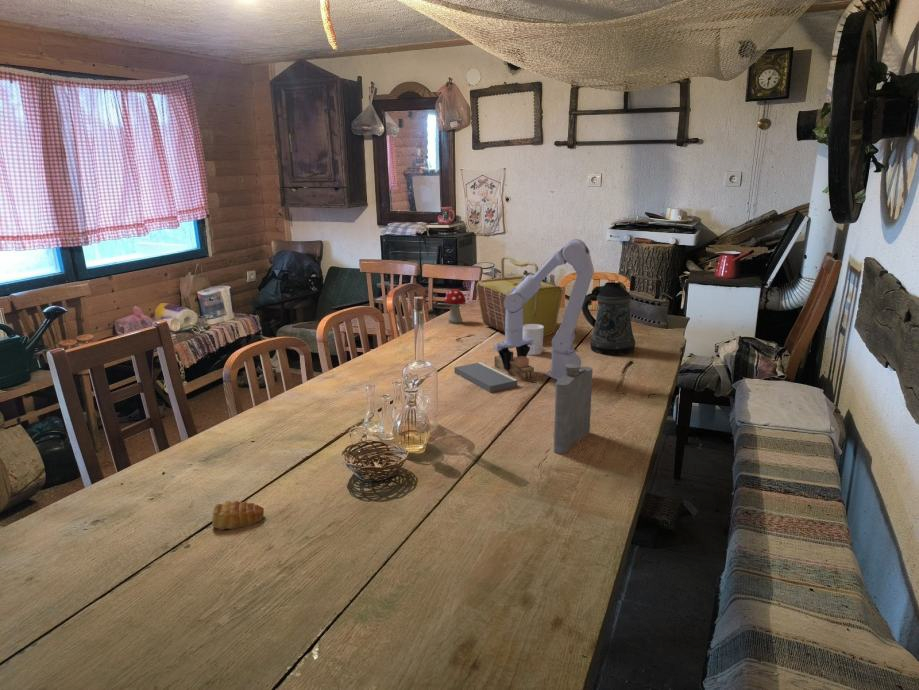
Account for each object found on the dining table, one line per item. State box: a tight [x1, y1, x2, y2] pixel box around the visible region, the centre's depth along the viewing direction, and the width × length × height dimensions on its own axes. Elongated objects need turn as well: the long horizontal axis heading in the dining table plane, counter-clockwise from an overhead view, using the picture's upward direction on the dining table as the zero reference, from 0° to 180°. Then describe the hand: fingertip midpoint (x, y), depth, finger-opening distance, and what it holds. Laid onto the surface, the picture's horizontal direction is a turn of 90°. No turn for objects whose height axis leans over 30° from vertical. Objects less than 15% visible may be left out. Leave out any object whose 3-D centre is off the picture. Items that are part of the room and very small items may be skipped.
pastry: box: [211, 500, 265, 531], centre depth 120 cm, size 9×7×4 cm
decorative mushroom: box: [443, 288, 467, 325], centre depth 271 cm, size 10×9×15 cm
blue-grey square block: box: [498, 349, 514, 360], centre depth 208 cm, size 4×4×2 cm
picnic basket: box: [475, 256, 564, 337], centre depth 254 cm, size 29×26×30 cm
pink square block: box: [513, 356, 530, 367], centre depth 200 cm, size 4×4×2 cm
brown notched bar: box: [494, 355, 535, 382], centre depth 205 cm, size 17×4×4 cm, turn 30°
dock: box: [454, 361, 518, 393], centre depth 198 cm, size 22×10×2 cm, turn 30°
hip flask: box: [553, 363, 594, 455], centre depth 150 cm, size 16×4×20 cm, turn 144°
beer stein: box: [581, 281, 636, 357], centre depth 226 cm, size 16×19×25 cm
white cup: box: [523, 324, 544, 356], centre depth 225 cm, size 8×8×10 cm
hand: (513, 368), depth 205 cm, fingers open, 5 cm apart
